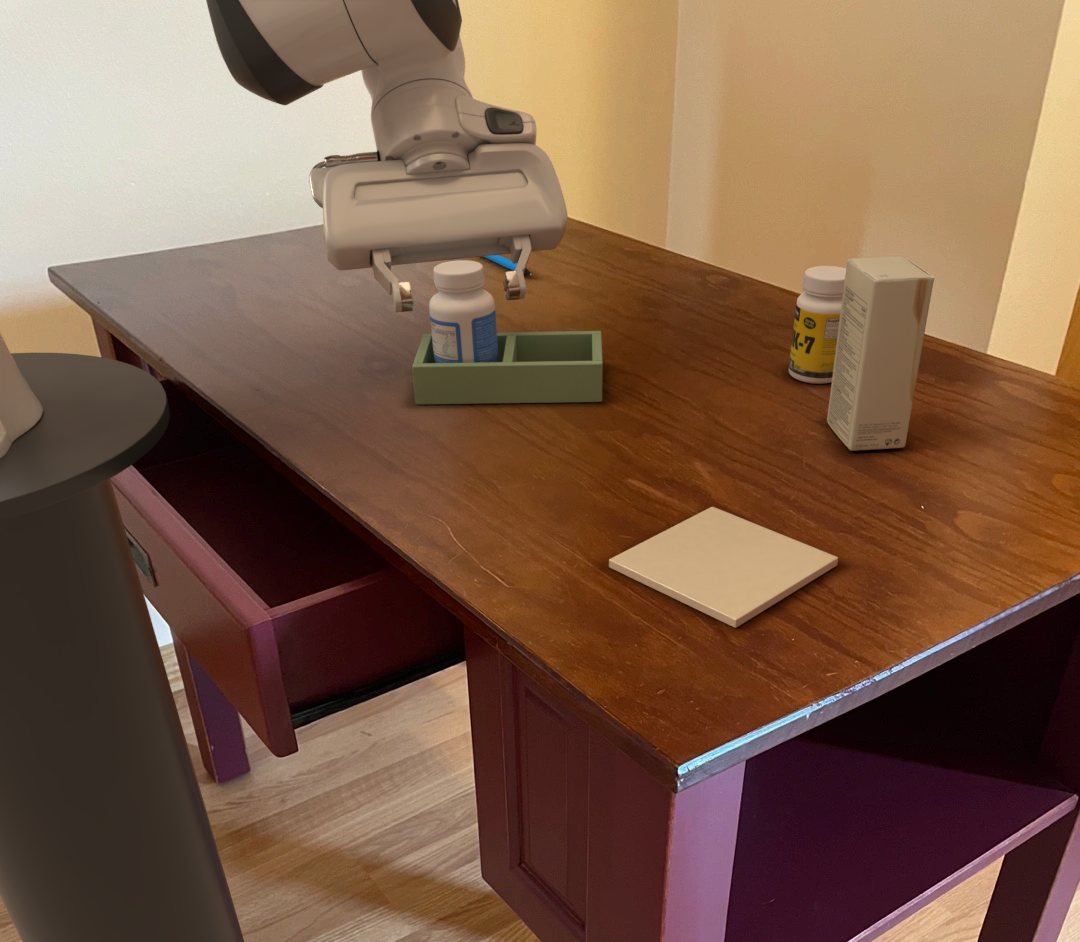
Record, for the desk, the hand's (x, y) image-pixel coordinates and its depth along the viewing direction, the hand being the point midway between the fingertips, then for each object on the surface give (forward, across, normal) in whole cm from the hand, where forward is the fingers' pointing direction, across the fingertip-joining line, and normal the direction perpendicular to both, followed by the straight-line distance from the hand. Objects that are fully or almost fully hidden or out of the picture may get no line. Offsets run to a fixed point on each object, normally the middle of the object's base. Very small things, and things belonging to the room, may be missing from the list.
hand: (461, 302), depth 89 cm
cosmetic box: (+19, +27, -10) cm, 34 cm away
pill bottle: (+6, 0, +4) cm, 7 cm away
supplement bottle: (+10, +29, -1) cm, 31 cm away
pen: (-21, +10, +31) cm, 38 cm away
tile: (+30, +9, -21) cm, 38 cm away
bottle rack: (+6, +3, +3) cm, 8 cm away
